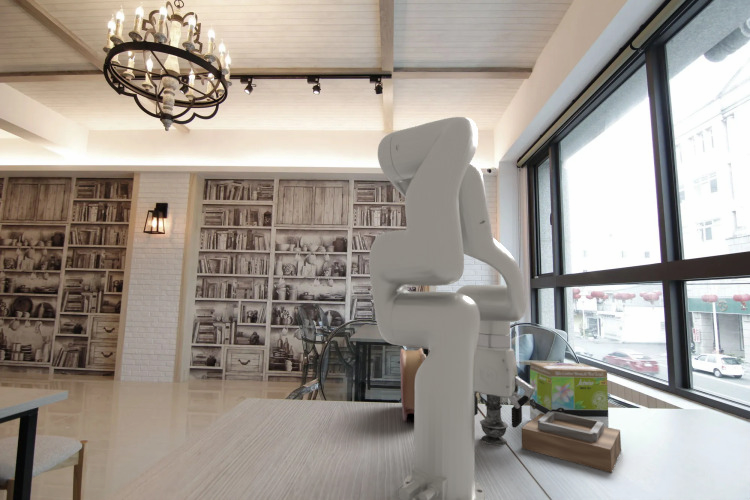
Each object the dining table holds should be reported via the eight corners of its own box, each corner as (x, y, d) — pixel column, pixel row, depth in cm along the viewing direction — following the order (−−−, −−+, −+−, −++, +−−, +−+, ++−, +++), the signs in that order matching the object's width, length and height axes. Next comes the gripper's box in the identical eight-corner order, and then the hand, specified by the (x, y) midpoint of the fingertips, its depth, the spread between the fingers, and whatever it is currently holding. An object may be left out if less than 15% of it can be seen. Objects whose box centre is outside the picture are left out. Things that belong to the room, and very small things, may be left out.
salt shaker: (486, 433, 86) (486, 379, 87) (512, 440, 82) (511, 384, 83) (475, 440, 81) (475, 383, 83) (502, 448, 77) (501, 388, 79)
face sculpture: (429, 428, 87) (430, 356, 90) (400, 427, 88) (401, 355, 90) (420, 404, 107) (421, 345, 109) (396, 403, 107) (398, 344, 110)
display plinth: (611, 472, 68) (610, 440, 68) (521, 448, 78) (521, 420, 78) (621, 449, 78) (619, 422, 79) (541, 430, 88) (540, 406, 89)
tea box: (552, 433, 87) (550, 368, 89) (529, 419, 97) (528, 361, 99) (610, 432, 89) (607, 369, 91) (582, 419, 99) (580, 361, 100)
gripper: (450, 339, 87) (450, 415, 85) (527, 347, 76) (529, 435, 74) (465, 336, 92) (465, 408, 90) (537, 344, 82) (540, 425, 80)
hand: (493, 420), depth 82 cm, fingers open, 9 cm apart
